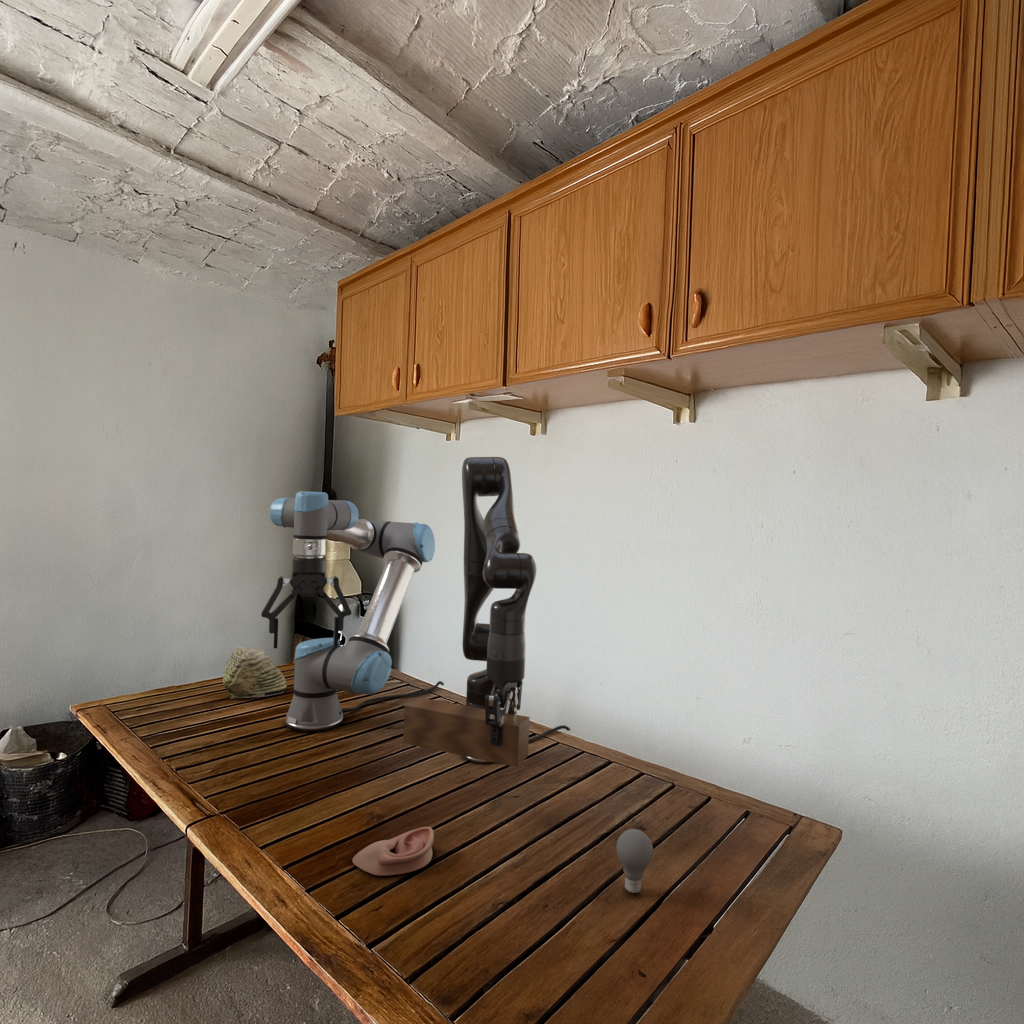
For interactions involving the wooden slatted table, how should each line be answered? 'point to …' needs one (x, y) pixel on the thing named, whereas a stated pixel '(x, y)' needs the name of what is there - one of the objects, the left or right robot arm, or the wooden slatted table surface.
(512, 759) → the bar
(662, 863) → the wooden slatted table surface
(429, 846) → the anatomical model
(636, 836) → the light bulb
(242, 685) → the fossil
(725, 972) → the wooden slatted table surface
